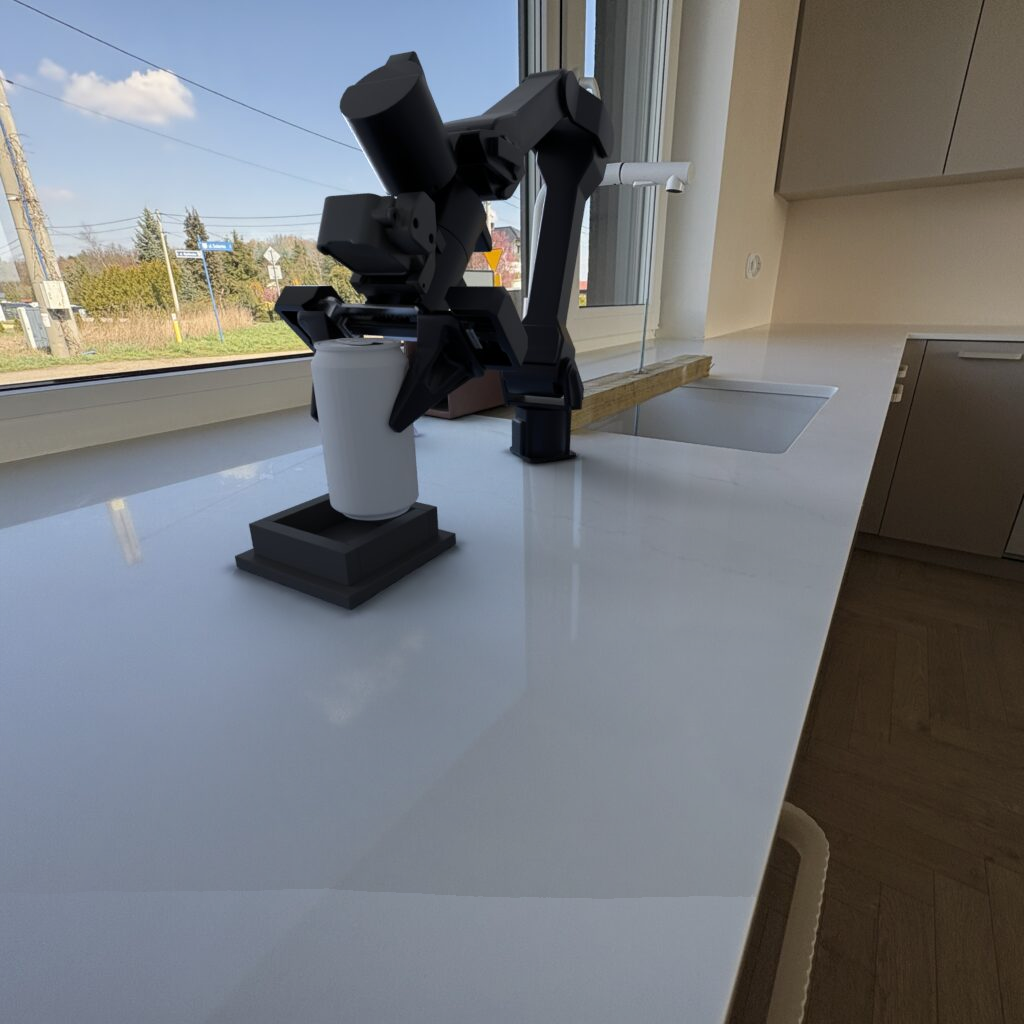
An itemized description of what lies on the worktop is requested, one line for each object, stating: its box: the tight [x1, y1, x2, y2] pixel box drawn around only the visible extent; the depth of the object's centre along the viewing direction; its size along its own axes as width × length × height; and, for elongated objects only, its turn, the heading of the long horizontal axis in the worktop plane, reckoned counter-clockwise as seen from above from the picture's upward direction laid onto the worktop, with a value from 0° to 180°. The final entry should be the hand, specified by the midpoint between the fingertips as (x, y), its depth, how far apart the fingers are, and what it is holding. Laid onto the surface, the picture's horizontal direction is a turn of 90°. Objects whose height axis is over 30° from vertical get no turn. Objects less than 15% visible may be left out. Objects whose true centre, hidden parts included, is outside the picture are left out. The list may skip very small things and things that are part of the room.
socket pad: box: [234, 492, 457, 610], centre depth 45 cm, size 12×12×4 cm
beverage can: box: [310, 337, 420, 520], centre depth 40 cm, size 6×6×12 cm
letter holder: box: [402, 341, 505, 420], centre depth 97 cm, size 10×20×14 cm, turn 144°
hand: (353, 424), depth 38 cm, fingers closed on beverage can, 6 cm apart
